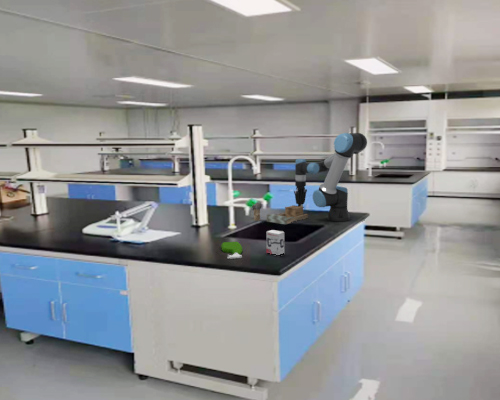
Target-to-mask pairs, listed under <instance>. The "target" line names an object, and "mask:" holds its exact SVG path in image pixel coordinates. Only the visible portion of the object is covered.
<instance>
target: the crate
mask: <svg viewBox="0 0 500 400" xmlns="http://www.w3.org/2000/svg"><path fill="white" fill-rule="evenodd" d="M284 210H285V212H284V213H285V217H287V218H289V217H296V216H300V215H304V206H303V207H302V206H298V205H290V206H285V207H284Z"/></svg>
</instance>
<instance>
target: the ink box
mask: <svg viewBox="0 0 500 400" xmlns="http://www.w3.org/2000/svg"><path fill="white" fill-rule="evenodd" d="M265 235H266V241H265V242H266V251H265V252H266V254H267V253H270V254H269V255H271V254H276V255H280V254H283V253H284V254H285V232H284V231H283V230H275V229H271V230H270V229H269V230H267V231H266V234H265ZM276 255H275V256H276Z"/></svg>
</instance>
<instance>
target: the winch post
mask: <svg viewBox="0 0 500 400" xmlns="http://www.w3.org/2000/svg"><path fill="white" fill-rule="evenodd" d="M251 208H252V211H253V221H256V222H259V221H260V220H261V218H260V217H261V209H262V203H261V202H256V204H255V205H253V206H252V205H251Z"/></svg>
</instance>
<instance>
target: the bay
mask: <svg viewBox="0 0 500 400" xmlns="http://www.w3.org/2000/svg"><path fill="white" fill-rule="evenodd" d="M306 218H307V219H308V218H309V213H305V214H304V213H303V215H300V216H296V217H289V218H287V217H285V212H283V213H278V214H276V213H274V214H272V213H267V214H266V222H268V223H275V224H280V225H288V224H292V223H294V222H293V221H296V222H298V221H297V220H300V221H303V220H306ZM302 219H303V220H302ZM291 222H292V223H291Z"/></svg>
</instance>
